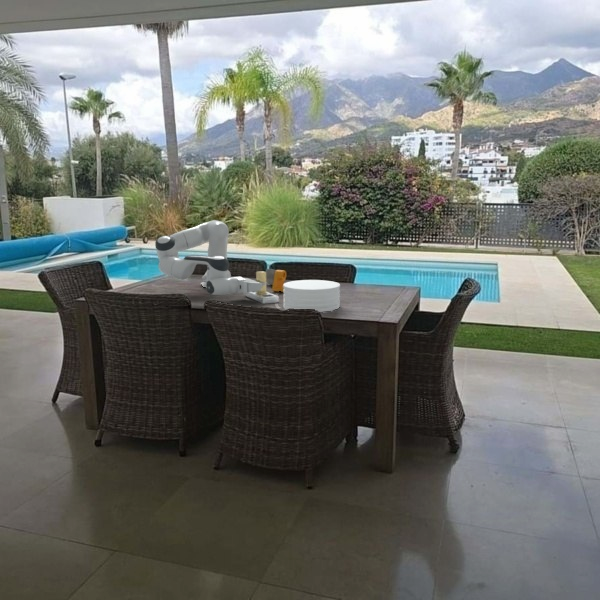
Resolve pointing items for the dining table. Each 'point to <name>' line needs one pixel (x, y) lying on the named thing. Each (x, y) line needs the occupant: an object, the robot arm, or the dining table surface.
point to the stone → (270, 276)
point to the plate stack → (311, 295)
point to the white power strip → (263, 297)
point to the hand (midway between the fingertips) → (262, 283)
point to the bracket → (279, 280)
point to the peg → (261, 278)
